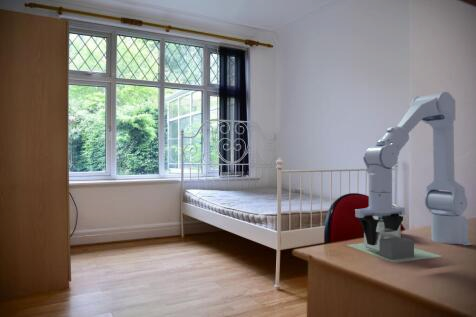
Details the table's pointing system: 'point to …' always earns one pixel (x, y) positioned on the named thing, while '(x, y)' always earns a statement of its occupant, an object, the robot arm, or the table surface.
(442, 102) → the robot arm
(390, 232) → the pale grey block
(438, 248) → the table surface
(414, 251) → the thin light green sheet
